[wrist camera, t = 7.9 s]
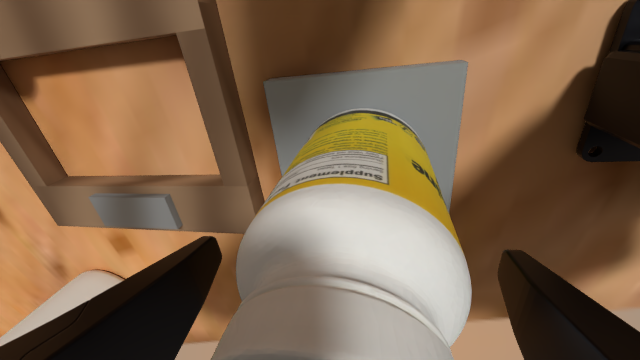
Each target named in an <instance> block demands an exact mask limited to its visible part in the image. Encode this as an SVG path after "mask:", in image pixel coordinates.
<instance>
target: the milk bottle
mask: <svg viewBox="0 0 640 360" xmlns="http://www.w3.org/2000/svg"><path fill="white" fill-rule="evenodd" d="M123 280H124V279H122V278H121V277H119V276H117V275H114V274H112V273H110V272H106V271H103V270H90V271H86V272H84V273H81V274H80V275H78V276H77V277H76V278H74V279H73V280H72V281H70V282H69V283H68V284H67V285H65V286H64V287H63V288H62V289H60V290H59V291H58V292H57V293H55V294H54V295H53V296H52V297H50V298H49V299H48V300H47V301H45V302H44V303H43V304H42V305H40V306H39V307H38V308H37V309H35V310H34V311H33V312H32V313H30V314H29V315H28V316H27V317H25V318H24V319H23V320H22V321H21V322H19V323H18V324H17V325H16V326H14V327H13V328H12V329H11V330H9V331H8V332H7V333H6V334H4V335H3V336H2V337H1V338H0V346H2V345H4V344H6V343H8V342H10V341H12V340H14V339H16V338H18V337H20V336H22V335H24V334H26V333H28V332H30V331H32V330H33V329H35V328H37V327H39V326H41V325H43V324H45V323H47V322H49V321H51V320H53V319H55V318H57V317H58V316H60V315H62V314H64V313H66V312H68V311H69V310H71V309H73V308H75V307H77V306H79V305H80V304H82V303H84V302H86V301H87V300H90V299H91V298H93V297H95V296H97V295H98V294H100V293H102V292H104V291H106V290H107V289H109V288H111V287H113V286H114V285H116V284H118V283H120V282H122V281H123Z"/></svg>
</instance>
